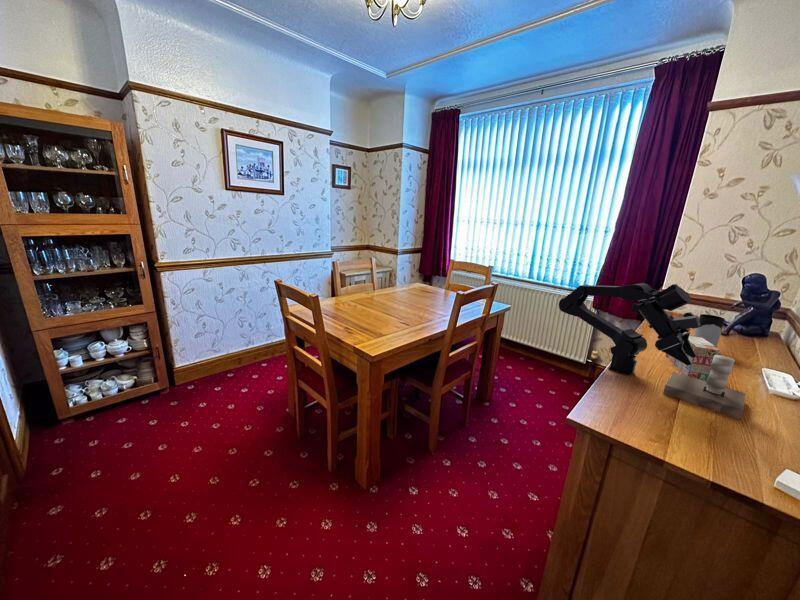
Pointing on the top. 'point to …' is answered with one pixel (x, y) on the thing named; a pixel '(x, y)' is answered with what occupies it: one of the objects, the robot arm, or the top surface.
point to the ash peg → (719, 374)
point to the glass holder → (709, 328)
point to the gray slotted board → (705, 395)
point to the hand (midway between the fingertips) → (692, 360)
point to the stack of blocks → (697, 359)
